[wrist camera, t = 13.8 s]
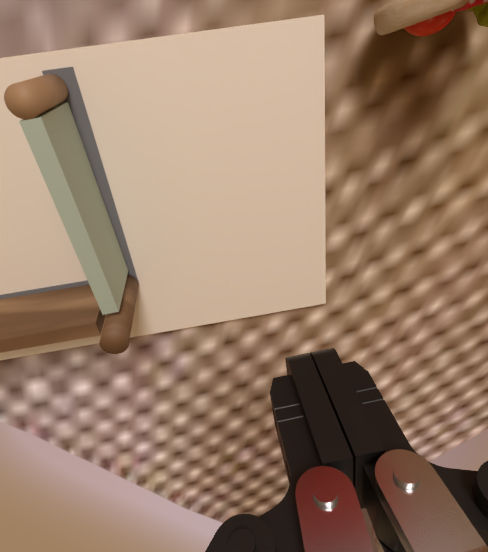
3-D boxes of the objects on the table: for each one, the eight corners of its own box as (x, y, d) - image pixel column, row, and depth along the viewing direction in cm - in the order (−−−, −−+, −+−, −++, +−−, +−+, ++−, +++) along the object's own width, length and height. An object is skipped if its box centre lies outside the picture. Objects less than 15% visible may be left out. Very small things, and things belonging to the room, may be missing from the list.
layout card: (323, 300, 40) (326, 304, 39) (-23, 360, 38) (-26, 365, 37) (321, 15, 27) (324, 14, 26) (-201, 85, 25) (-210, 86, 25)
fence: (141, 291, 36) (131, 351, 29) (-41, 321, 35) (-95, 391, 28) (135, 272, 34) (124, 329, 28) (-53, 303, 34) (-112, 371, 27)
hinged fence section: (61, 71, 26) (32, 80, 21) (131, 269, 34) (123, 310, 29) (34, 76, 26) (-3, 86, 21) (110, 273, 34) (98, 315, 29)
